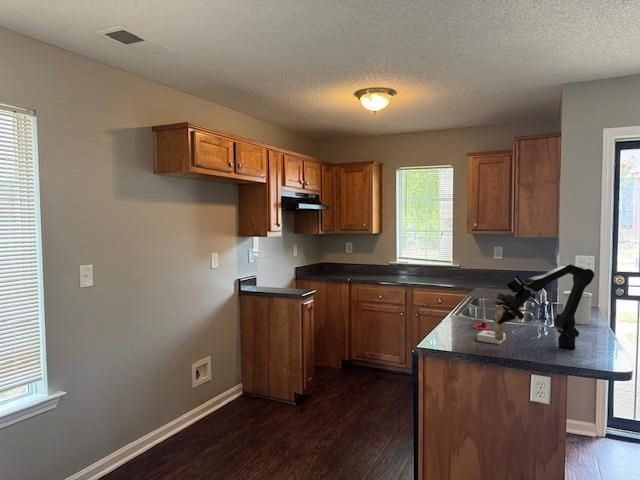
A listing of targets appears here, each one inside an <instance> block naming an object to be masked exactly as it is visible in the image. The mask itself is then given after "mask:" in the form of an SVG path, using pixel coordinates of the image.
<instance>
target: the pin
mask: <svg viewBox="0 0 640 480" xmlns="http://www.w3.org/2000/svg"><path fill="white" fill-rule="evenodd" d="M494 309H495V310H494V314H495V317H494V319H495V322H494V332H495V340H499V341H502V340H503V333H504V323H502V324H498V321H499V320H500V319H501V317H502V316H503V315H504V306H501V305H495V308H494Z"/></svg>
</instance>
